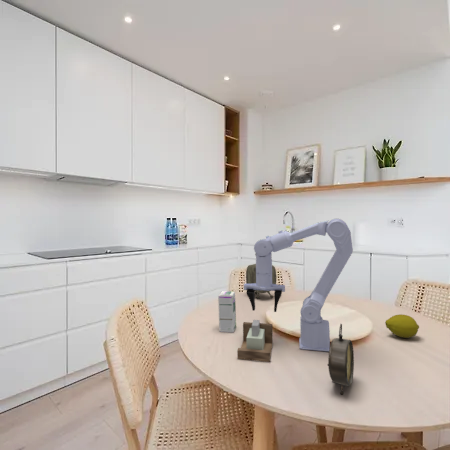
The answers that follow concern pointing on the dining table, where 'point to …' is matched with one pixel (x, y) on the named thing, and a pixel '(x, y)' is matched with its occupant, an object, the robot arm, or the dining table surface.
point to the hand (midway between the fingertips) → (264, 310)
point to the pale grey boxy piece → (256, 336)
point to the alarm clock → (341, 361)
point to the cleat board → (252, 353)
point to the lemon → (402, 326)
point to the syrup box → (227, 311)
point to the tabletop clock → (252, 278)
